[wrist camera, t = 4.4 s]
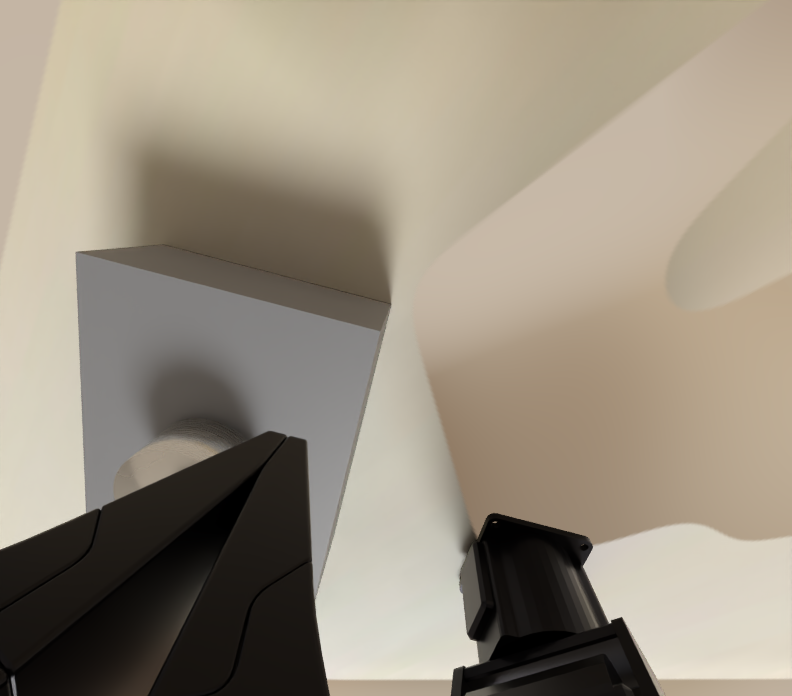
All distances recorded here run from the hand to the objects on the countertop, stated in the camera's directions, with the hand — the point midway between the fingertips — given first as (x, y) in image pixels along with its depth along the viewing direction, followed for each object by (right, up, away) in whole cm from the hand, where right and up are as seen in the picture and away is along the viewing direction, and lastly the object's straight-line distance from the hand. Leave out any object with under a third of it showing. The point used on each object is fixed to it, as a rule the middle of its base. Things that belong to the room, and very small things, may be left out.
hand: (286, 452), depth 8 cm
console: (-6, -1, +14) cm, 15 cm away
